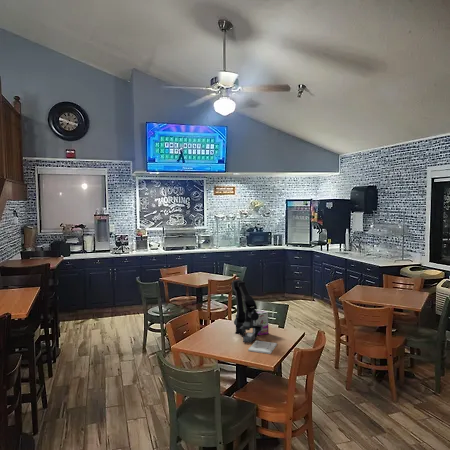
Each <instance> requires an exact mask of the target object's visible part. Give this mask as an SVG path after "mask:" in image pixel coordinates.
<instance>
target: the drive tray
mask: <svg viewBox="0 0 450 450" xmlns="http://www.w3.org/2000/svg"><path fill="white" fill-rule="evenodd" d="M251 344H252V345H250V346H249V347H248V349H247V351H248V352H253V353H260V354H261V353H262V354H267V355H268V354H269V355H271V354H272V352H273V351H274V349H275V348H276V347H277V345H278V342H271V341H270V342H269V341H263V340H254V342H252V343H251Z"/></svg>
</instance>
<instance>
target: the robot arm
mask: <svg viewBox="0 0 450 450" xmlns="http://www.w3.org/2000/svg"><path fill="white" fill-rule="evenodd" d="M231 288H232V291H233V292H234V293H235V302H236V303H235V304H236V314H235V319H234V320H233V323H234V324H233V325H235V332H234V334H238V335H241V336H242V338H243V336H244V335H245V334H246V333H247V332H246V331H250V330H251V329H253V328H255V329H256V330H255V339H254V340H256V339H257V337H258V336H257V335H258V332H259V331H261V330H262V329H263V325H259V324H257V325H256V326H254V323H253V320H254V321H256V320H257V319H258V318H259V315H258V313H257V312H258V311H257V309H258V308H257V307H258V306H257V304H256V301H255V299H254V297H253V296H251V295H250V293H249V290H248V289H247V285H246V282H245V281H242V280H241V279H239V280H232V281H231Z"/></svg>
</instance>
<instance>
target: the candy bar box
mask: <svg viewBox="0 0 450 450" xmlns="http://www.w3.org/2000/svg"><path fill="white" fill-rule="evenodd" d="M256 312H257V313H258V315H259V318H258V319H257V320H256V321H254V320H253V323H254V326H256V325H257V324H259V325H263V329H262V330H261V331H259V332H258V335H259V336H264V335H269V312H268V311H266V310H264V311H256ZM255 330H256V329H255V328H252V333H255ZM258 335H257V337H258Z"/></svg>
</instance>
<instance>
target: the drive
mask: <svg viewBox="0 0 450 450" xmlns="http://www.w3.org/2000/svg"><path fill="white" fill-rule="evenodd" d="M255 340H256V339H255V333H253V332H245V333H244V336H243V337H242V342H243V343H250V344H253V343H254V342H253V341H255Z"/></svg>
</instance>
